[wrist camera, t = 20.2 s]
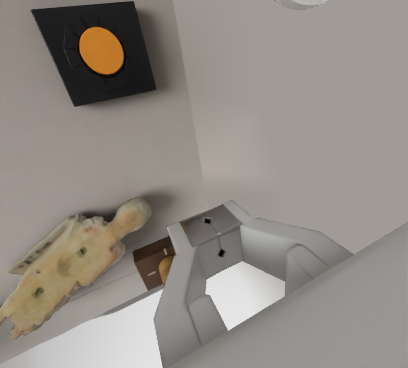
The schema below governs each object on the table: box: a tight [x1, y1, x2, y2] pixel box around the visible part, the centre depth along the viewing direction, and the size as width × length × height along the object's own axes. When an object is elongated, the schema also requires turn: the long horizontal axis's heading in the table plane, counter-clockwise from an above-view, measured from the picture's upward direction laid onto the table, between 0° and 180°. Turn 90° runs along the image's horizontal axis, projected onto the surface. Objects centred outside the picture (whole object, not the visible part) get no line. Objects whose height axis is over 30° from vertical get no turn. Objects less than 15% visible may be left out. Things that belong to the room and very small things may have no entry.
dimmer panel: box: [133, 236, 176, 291], centre depth 40 cm, size 11×9×3 cm
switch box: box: [31, 1, 156, 107], centre depth 23 cm, size 10×9×4 cm
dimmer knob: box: [159, 256, 174, 286], centre depth 37 cm, size 4×4×4 cm
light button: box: [79, 27, 124, 75], centre depth 21 cm, size 4×4×2 cm
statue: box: [0, 197, 152, 339], centre depth 31 cm, size 10×7×30 cm
